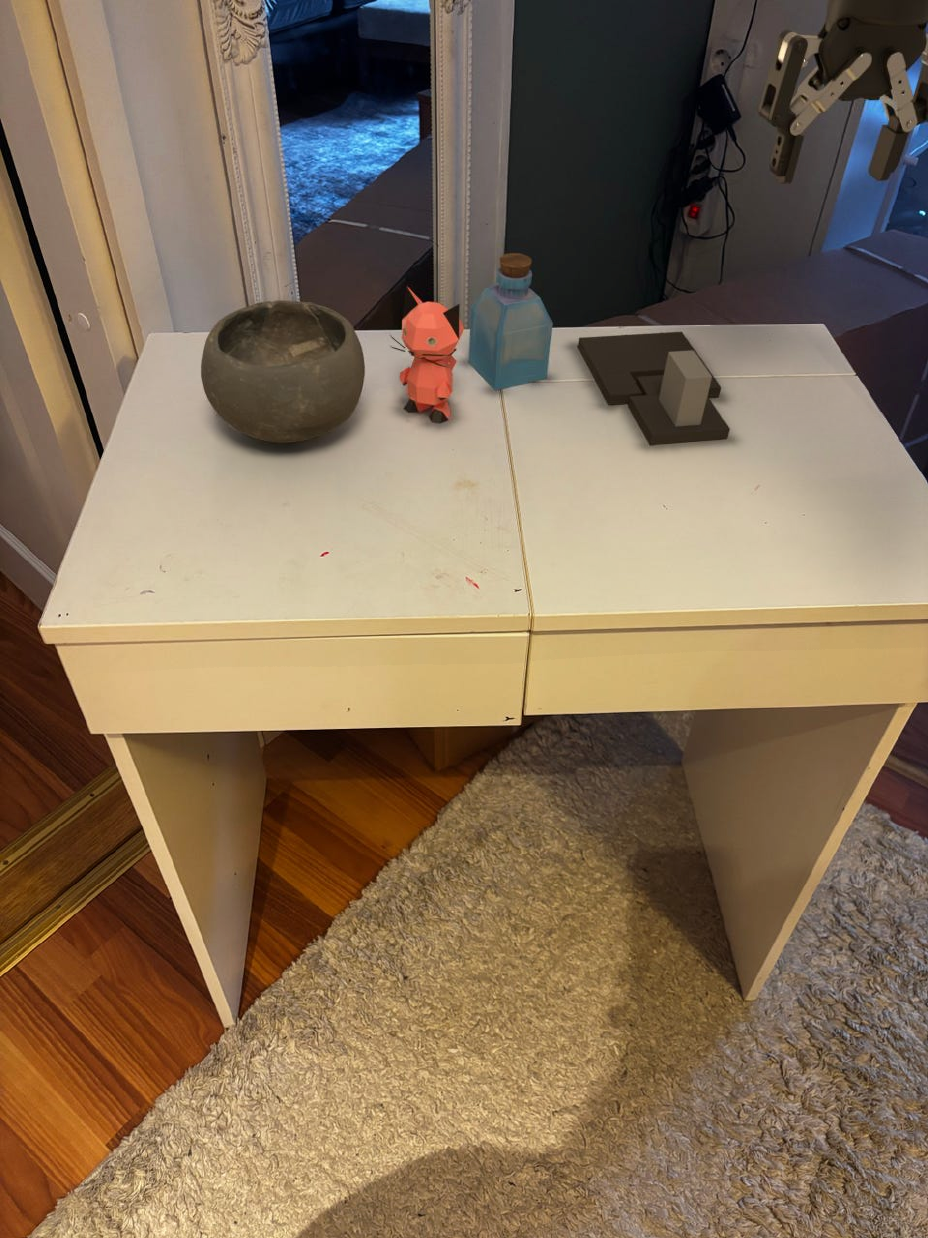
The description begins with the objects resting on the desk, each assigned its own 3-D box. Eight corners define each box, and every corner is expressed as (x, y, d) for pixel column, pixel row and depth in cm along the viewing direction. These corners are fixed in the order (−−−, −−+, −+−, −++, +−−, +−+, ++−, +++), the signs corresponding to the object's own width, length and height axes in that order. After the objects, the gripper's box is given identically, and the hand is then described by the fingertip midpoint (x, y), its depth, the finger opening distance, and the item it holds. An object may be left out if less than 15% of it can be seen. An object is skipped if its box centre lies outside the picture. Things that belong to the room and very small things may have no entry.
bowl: (207, 394, 94) (189, 300, 87) (353, 379, 97) (348, 287, 90) (217, 480, 84) (198, 381, 77) (380, 460, 87) (376, 364, 80)
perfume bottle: (518, 351, 102) (527, 242, 94) (546, 378, 99) (558, 267, 90) (468, 362, 100) (473, 252, 92) (495, 390, 96) (502, 278, 88)
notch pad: (679, 340, 105) (681, 331, 104) (719, 397, 97) (721, 387, 96) (577, 347, 103) (578, 337, 103) (608, 405, 95) (610, 395, 94)
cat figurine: (382, 411, 93) (378, 297, 84) (422, 382, 97) (422, 270, 89) (441, 435, 90) (443, 319, 82) (479, 404, 94) (485, 291, 86)
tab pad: (689, 382, 99) (702, 325, 94) (727, 439, 91) (743, 380, 87) (617, 387, 98) (627, 330, 93) (649, 445, 90) (662, 385, 86)
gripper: (831, -54, 61) (767, 200, 72) (1025, -54, 63) (933, 193, 75) (783, -74, 66) (730, 165, 78) (963, -73, 68) (886, 160, 80)
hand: (829, 179), depth 76 cm, fingers open, 8 cm apart
